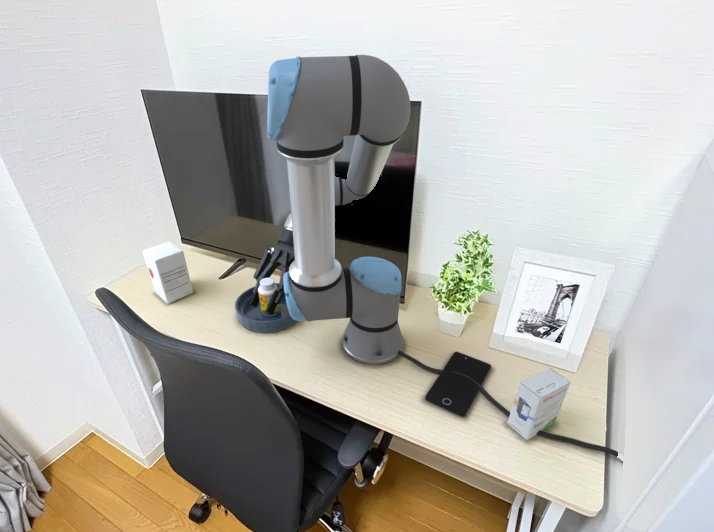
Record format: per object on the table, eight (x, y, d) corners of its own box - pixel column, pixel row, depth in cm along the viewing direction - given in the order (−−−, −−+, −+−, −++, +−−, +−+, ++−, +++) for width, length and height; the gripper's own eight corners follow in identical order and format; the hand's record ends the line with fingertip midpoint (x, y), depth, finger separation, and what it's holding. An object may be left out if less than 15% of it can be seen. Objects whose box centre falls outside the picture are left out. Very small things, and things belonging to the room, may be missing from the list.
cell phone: (424, 399, 90) (424, 396, 90) (454, 353, 102) (455, 350, 101) (464, 418, 86) (464, 415, 85) (491, 367, 98) (492, 364, 97)
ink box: (526, 441, 81) (543, 400, 74) (505, 422, 85) (519, 381, 78) (555, 423, 84) (574, 382, 77) (534, 406, 88) (549, 365, 81)
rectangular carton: (154, 292, 129) (140, 250, 121) (180, 282, 134) (169, 240, 126) (167, 304, 124) (154, 260, 115) (194, 293, 129) (183, 250, 120)
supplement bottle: (259, 308, 120) (255, 278, 114) (278, 304, 121) (274, 274, 116) (263, 319, 116) (258, 288, 110) (282, 315, 117) (279, 284, 111)
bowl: (317, 308, 120) (317, 296, 118) (272, 343, 108) (270, 331, 105) (269, 287, 130) (268, 276, 128) (223, 317, 118) (220, 305, 115)
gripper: (327, 247, 114) (292, 324, 113) (278, 231, 124) (245, 301, 123) (314, 236, 108) (277, 318, 107) (263, 220, 117) (229, 295, 116)
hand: (260, 309), depth 115 cm, fingers closed on supplement bottle, 5 cm apart
